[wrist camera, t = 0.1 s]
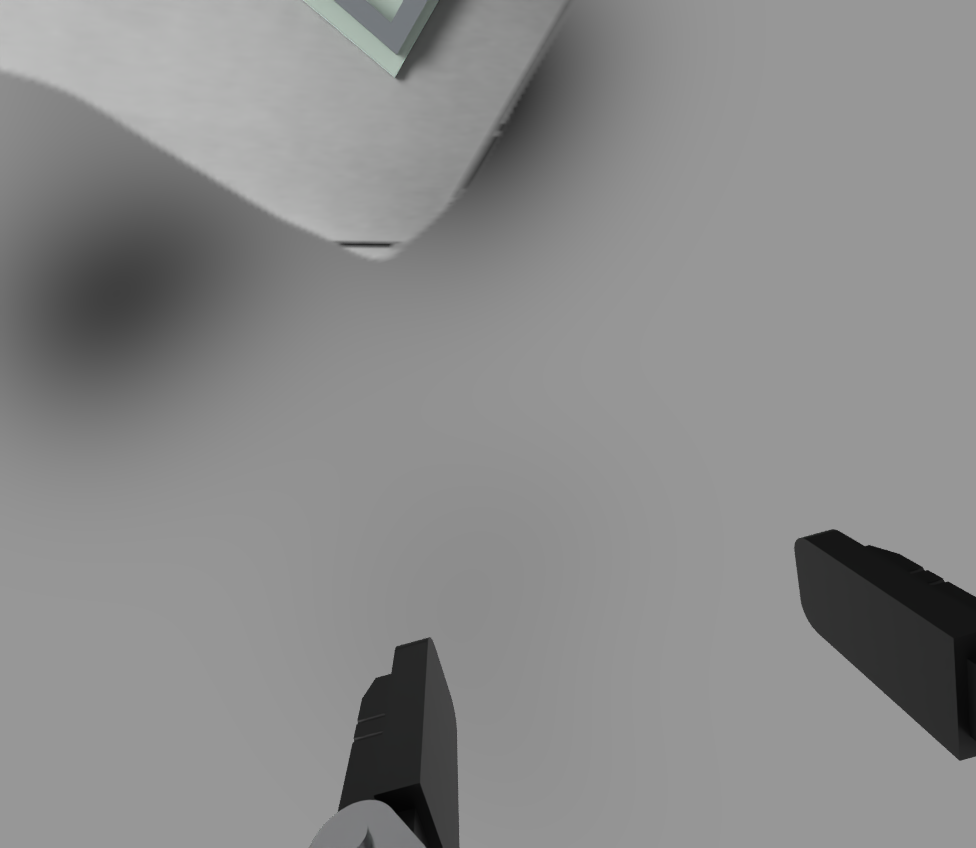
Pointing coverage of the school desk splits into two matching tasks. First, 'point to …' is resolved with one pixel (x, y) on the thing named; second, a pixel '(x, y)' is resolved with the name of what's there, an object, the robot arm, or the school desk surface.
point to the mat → (378, 25)
